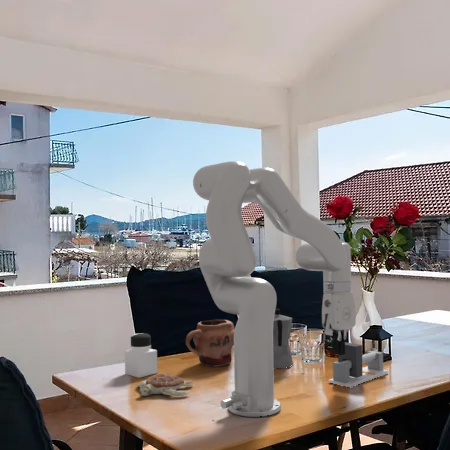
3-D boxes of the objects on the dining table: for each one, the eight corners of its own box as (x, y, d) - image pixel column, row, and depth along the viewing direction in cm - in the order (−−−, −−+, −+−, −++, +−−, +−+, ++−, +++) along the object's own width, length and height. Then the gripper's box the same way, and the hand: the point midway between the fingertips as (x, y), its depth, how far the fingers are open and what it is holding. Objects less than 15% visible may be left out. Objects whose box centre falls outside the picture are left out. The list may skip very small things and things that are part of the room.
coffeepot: (262, 360, 178) (261, 306, 178) (290, 360, 178) (289, 305, 178) (265, 372, 162) (264, 313, 163) (296, 372, 162) (295, 312, 162)
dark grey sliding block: (356, 377, 149) (356, 346, 149) (338, 373, 153) (337, 343, 153) (362, 375, 151) (362, 344, 151) (344, 371, 155) (343, 342, 155)
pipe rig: (350, 388, 145) (349, 365, 145) (328, 383, 150) (328, 361, 150) (387, 373, 159) (387, 352, 159) (366, 369, 164) (366, 349, 164)
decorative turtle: (118, 393, 146) (118, 374, 146) (164, 379, 158) (163, 362, 158) (163, 407, 134) (163, 386, 134) (209, 391, 146) (208, 372, 146)
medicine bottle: (157, 373, 164) (157, 333, 164) (139, 378, 159) (138, 337, 159) (143, 369, 169) (142, 331, 169) (124, 374, 164) (124, 334, 164)
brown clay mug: (201, 374, 162) (200, 328, 162) (175, 367, 171) (175, 323, 171) (247, 362, 176) (246, 319, 176) (221, 356, 185) (220, 315, 185)
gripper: (333, 291, 140) (334, 361, 140) (363, 285, 151) (365, 351, 150) (309, 289, 146) (311, 356, 145) (341, 284, 156) (342, 347, 156)
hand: (338, 353), depth 148 cm, fingers closed
